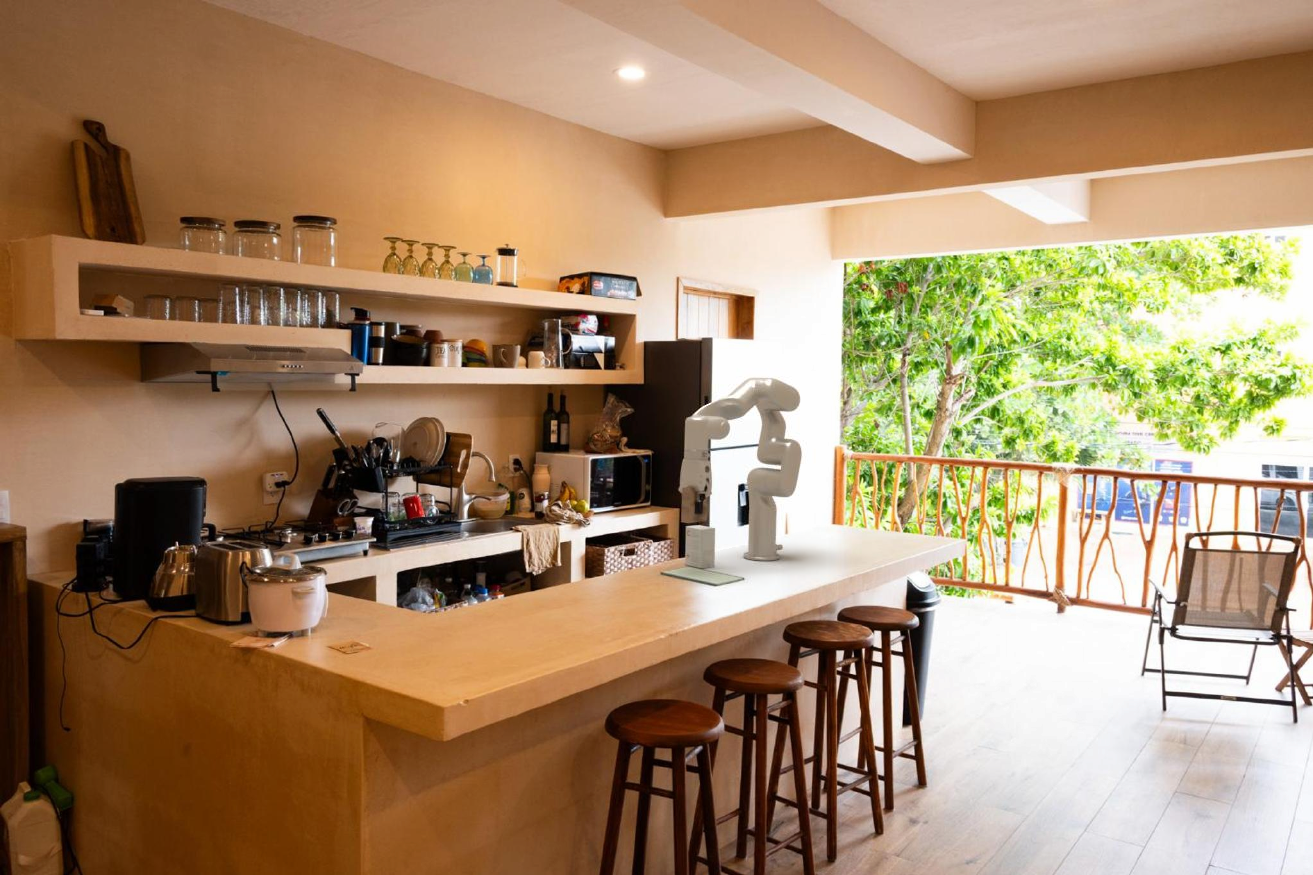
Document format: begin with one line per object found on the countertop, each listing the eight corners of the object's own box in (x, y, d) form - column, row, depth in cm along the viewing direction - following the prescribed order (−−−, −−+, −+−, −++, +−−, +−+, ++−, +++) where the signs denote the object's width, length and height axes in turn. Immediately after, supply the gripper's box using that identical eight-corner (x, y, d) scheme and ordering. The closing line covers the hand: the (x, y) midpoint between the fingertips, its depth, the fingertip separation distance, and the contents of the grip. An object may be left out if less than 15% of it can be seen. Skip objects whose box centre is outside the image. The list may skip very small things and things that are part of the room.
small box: (714, 566, 321) (715, 527, 320) (700, 568, 317) (701, 529, 316) (698, 562, 327) (699, 524, 326) (684, 564, 323) (685, 526, 322)
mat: (689, 568, 317) (689, 566, 317) (744, 579, 301) (744, 577, 301) (660, 574, 307) (660, 572, 307) (715, 586, 291) (715, 584, 291)
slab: (699, 519, 311) (700, 485, 311) (706, 520, 309) (707, 486, 309) (681, 522, 305) (682, 487, 304) (688, 523, 303) (689, 488, 302)
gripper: (723, 457, 303) (721, 515, 304) (684, 453, 314) (682, 509, 315) (708, 458, 297) (706, 517, 298) (669, 454, 309) (667, 511, 310)
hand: (694, 512), depth 307 cm, fingers closed on slab, 3 cm apart
